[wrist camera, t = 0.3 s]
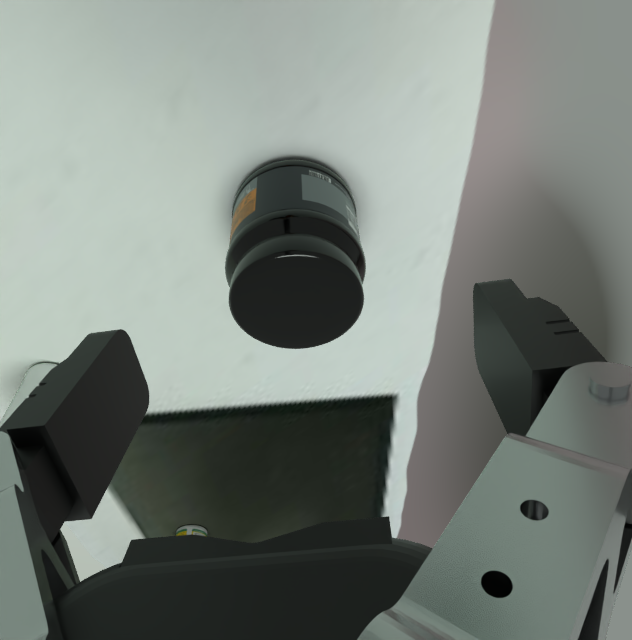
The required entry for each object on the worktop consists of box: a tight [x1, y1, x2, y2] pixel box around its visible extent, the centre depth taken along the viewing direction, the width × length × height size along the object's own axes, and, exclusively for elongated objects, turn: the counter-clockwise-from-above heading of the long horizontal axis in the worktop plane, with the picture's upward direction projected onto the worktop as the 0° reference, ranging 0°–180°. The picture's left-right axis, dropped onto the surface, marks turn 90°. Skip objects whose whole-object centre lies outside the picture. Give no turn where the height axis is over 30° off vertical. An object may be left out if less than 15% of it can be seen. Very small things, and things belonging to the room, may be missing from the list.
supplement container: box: [225, 159, 366, 349], centre depth 41 cm, size 10×10×12 cm
